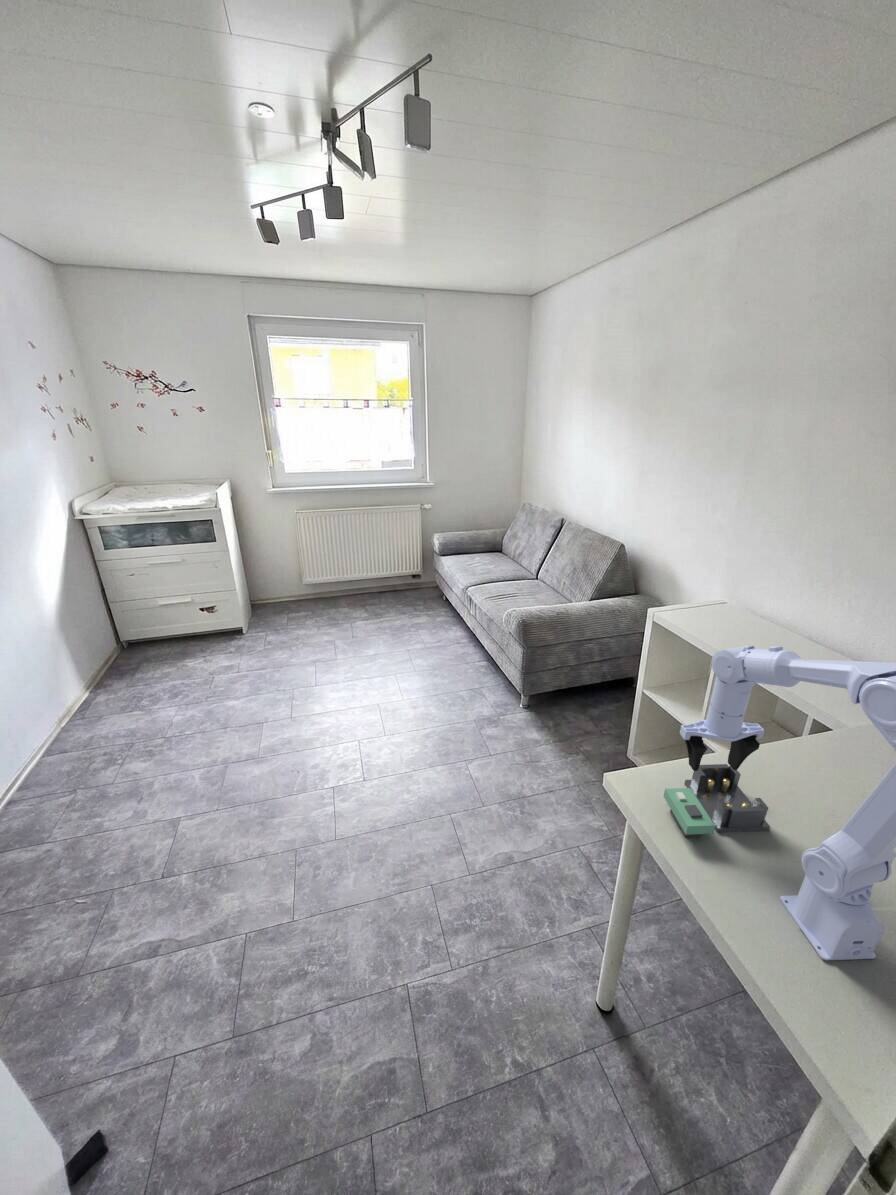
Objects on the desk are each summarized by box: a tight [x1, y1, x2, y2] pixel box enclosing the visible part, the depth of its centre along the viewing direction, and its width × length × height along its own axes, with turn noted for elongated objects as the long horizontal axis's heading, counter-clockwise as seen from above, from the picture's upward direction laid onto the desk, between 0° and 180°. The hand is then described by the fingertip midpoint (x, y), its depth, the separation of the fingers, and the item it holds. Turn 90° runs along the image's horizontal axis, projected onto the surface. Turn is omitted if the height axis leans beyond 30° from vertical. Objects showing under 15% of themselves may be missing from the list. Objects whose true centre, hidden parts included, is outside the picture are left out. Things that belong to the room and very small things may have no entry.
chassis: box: [684, 763, 771, 833], centre depth 94 cm, size 10×12×5 cm
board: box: [663, 787, 715, 835], centre depth 90 cm, size 5×9×3 cm, turn 2°
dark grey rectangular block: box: [669, 809, 702, 838], centre depth 90 cm, size 6×3×2 cm, turn 2°
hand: (712, 766), depth 91 cm, fingers open, 7 cm apart
